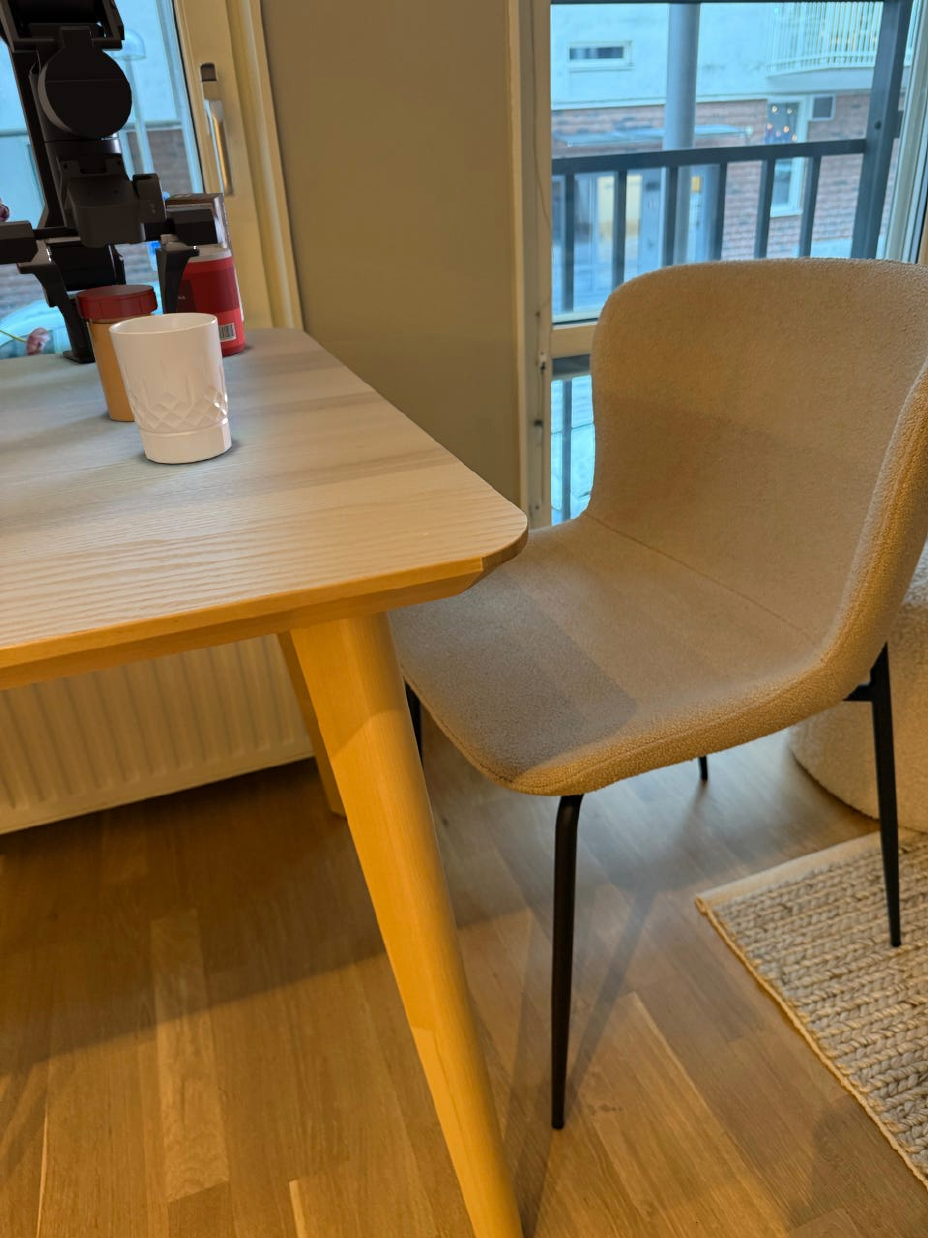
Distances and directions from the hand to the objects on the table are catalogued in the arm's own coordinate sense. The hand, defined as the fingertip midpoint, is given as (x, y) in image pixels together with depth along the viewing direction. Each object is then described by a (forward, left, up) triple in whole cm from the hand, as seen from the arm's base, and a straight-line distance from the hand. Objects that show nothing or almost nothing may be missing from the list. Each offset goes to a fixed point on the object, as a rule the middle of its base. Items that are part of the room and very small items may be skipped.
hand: (127, 339), depth 80 cm
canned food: (-20, +17, -7) cm, 27 cm away
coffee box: (-33, +24, -7) cm, 41 cm away
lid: (-1, 0, +4) cm, 4 cm away
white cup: (+14, -2, -7) cm, 16 cm away
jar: (-1, 0, -7) cm, 7 cm away
